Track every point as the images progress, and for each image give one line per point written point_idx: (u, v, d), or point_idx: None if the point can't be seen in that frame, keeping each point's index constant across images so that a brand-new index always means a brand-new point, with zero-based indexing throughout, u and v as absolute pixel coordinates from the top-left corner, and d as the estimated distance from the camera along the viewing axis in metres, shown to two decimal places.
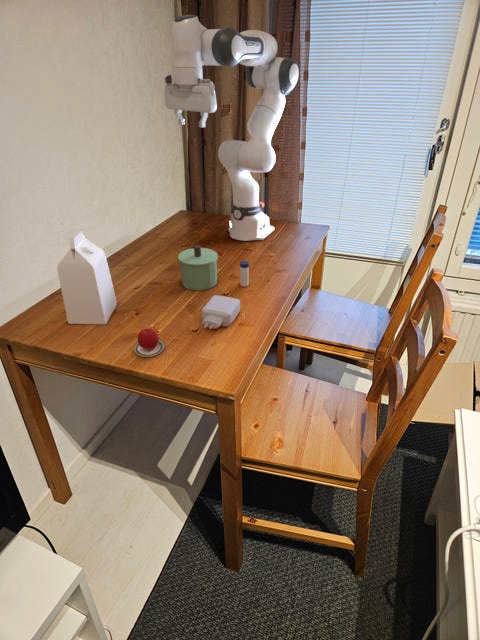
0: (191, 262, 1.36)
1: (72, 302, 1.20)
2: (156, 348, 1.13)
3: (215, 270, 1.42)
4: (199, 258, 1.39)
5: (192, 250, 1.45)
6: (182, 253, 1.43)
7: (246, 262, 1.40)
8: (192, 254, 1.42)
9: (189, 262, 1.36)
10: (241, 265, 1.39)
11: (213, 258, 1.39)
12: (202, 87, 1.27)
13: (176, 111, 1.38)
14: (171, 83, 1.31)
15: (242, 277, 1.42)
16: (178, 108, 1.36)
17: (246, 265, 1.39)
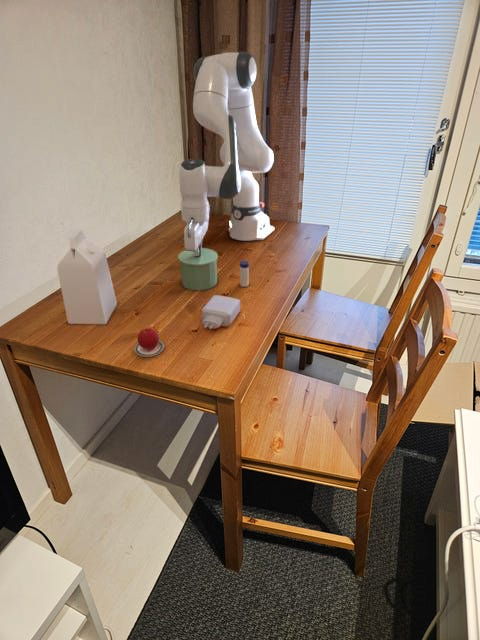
0: (191, 262, 1.36)
1: (72, 302, 1.20)
2: (156, 348, 1.13)
3: (215, 270, 1.42)
4: (199, 258, 1.39)
5: None
6: (182, 253, 1.43)
7: (246, 262, 1.40)
8: (192, 254, 1.42)
9: (189, 262, 1.36)
10: (241, 265, 1.39)
11: (213, 258, 1.39)
12: None
13: None
14: None
15: (242, 277, 1.42)
16: None
17: (246, 265, 1.39)
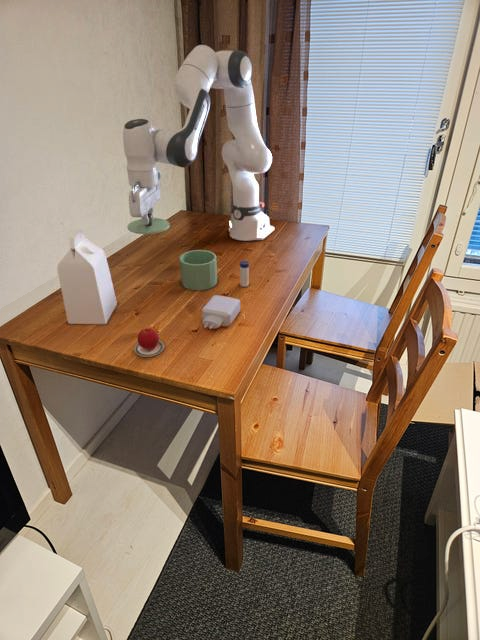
0: (140, 230, 1.30)
1: (72, 302, 1.20)
2: (156, 348, 1.13)
3: (215, 270, 1.42)
4: (149, 227, 1.32)
5: None
6: (133, 222, 1.36)
7: (246, 262, 1.40)
8: None
9: (138, 231, 1.30)
10: (241, 265, 1.39)
11: (164, 227, 1.32)
12: None
13: None
14: None
15: (242, 277, 1.42)
16: None
17: (246, 265, 1.39)
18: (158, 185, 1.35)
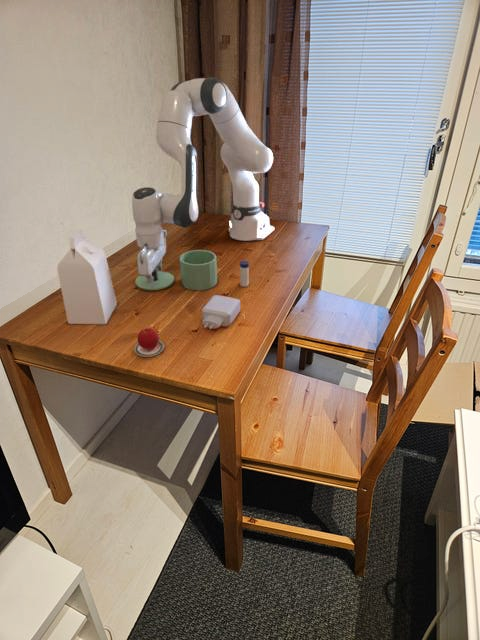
0: (147, 287, 1.41)
1: (72, 302, 1.20)
2: (156, 348, 1.13)
3: (215, 270, 1.42)
4: (155, 282, 1.43)
5: None
6: (140, 277, 1.47)
7: (246, 262, 1.40)
8: None
9: (145, 287, 1.41)
10: (241, 265, 1.39)
11: (169, 282, 1.43)
12: None
13: None
14: None
15: (242, 277, 1.42)
16: None
17: (246, 265, 1.39)
18: (164, 241, 1.46)
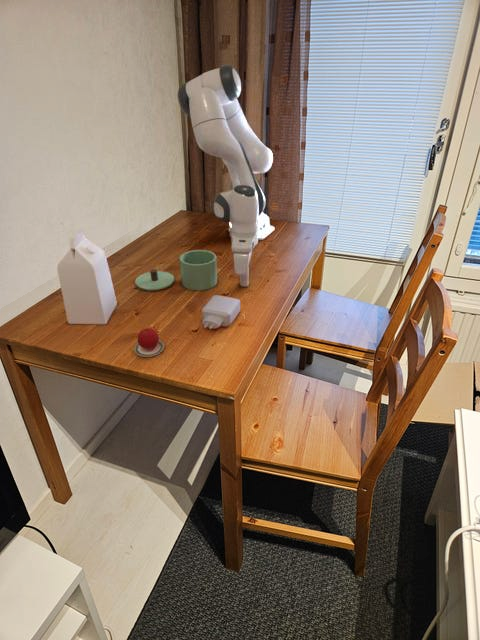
0: (147, 287, 1.41)
1: (72, 302, 1.20)
2: (156, 348, 1.13)
3: (215, 270, 1.42)
4: (155, 282, 1.43)
5: (150, 273, 1.49)
6: (140, 277, 1.47)
7: None
8: (149, 278, 1.46)
9: (145, 287, 1.41)
10: None
11: (169, 282, 1.43)
12: None
13: None
14: (253, 247, 1.32)
15: None
16: None
17: None
18: None
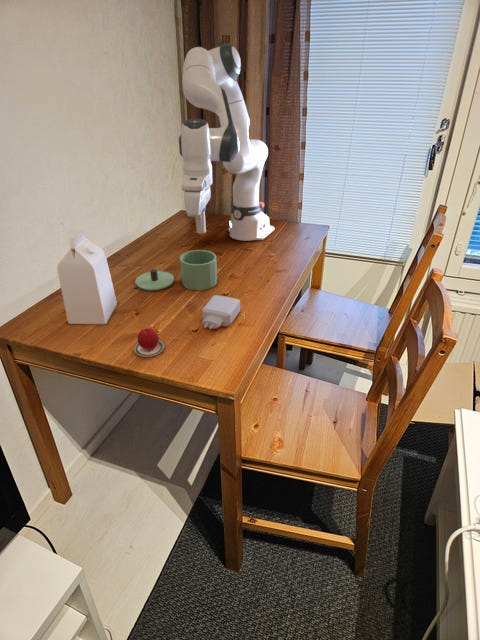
0: (147, 287, 1.41)
1: (72, 302, 1.20)
2: (156, 348, 1.13)
3: (215, 270, 1.42)
4: (155, 282, 1.43)
5: (150, 273, 1.49)
6: (140, 277, 1.47)
7: None
8: (149, 278, 1.46)
9: (145, 287, 1.41)
10: None
11: (169, 282, 1.43)
12: None
13: None
14: (205, 187, 1.23)
15: None
16: (202, 209, 1.28)
17: None
18: None
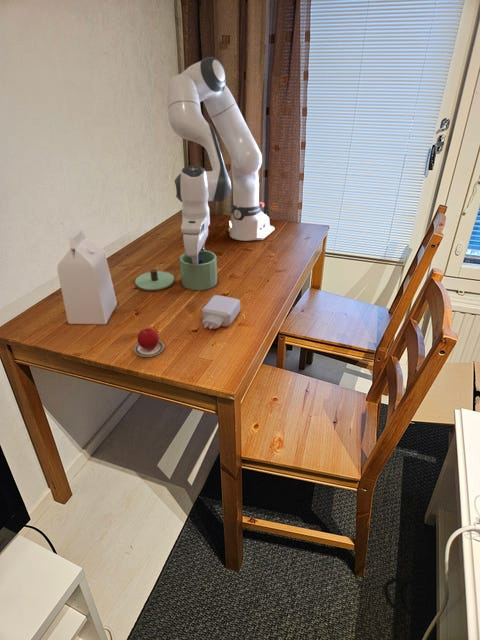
0: (147, 287, 1.41)
1: (72, 302, 1.20)
2: (156, 348, 1.13)
3: (215, 270, 1.42)
4: (155, 282, 1.43)
5: (150, 273, 1.49)
6: (140, 277, 1.47)
7: (200, 258, 1.42)
8: (149, 278, 1.46)
9: (145, 287, 1.41)
10: None
11: (169, 282, 1.43)
12: None
13: None
14: (203, 229, 1.31)
15: None
16: (200, 249, 1.35)
17: (199, 261, 1.41)
18: None
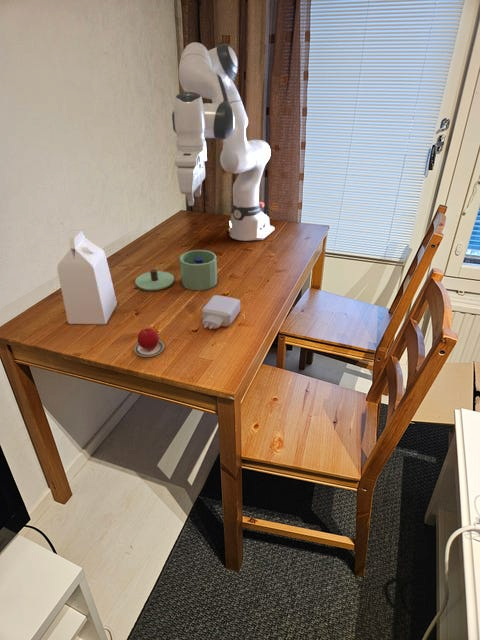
0: (147, 287, 1.41)
1: (72, 302, 1.20)
2: (156, 348, 1.13)
3: (215, 270, 1.42)
4: (155, 282, 1.43)
5: (150, 273, 1.49)
6: (140, 277, 1.47)
7: (200, 258, 1.42)
8: (149, 278, 1.46)
9: (145, 287, 1.41)
10: (195, 261, 1.41)
11: (169, 282, 1.43)
12: None
13: None
14: (199, 163, 1.20)
15: None
16: (196, 187, 1.25)
17: (199, 261, 1.41)
18: None
